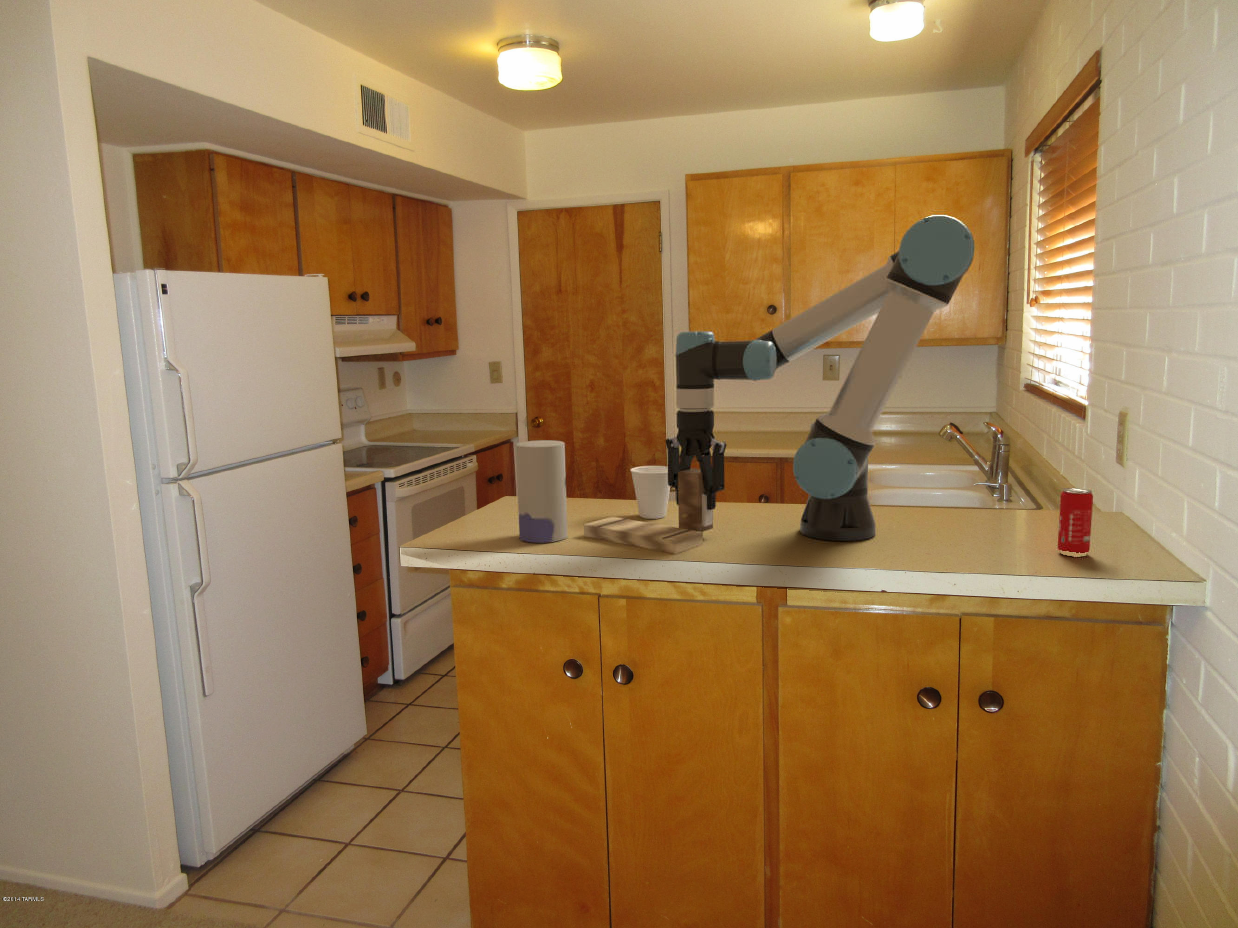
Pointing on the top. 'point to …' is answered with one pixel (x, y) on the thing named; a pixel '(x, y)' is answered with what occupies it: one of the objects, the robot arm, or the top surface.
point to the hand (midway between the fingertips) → (695, 522)
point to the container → (541, 491)
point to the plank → (644, 534)
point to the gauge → (691, 500)
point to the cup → (651, 490)
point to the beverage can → (1075, 520)
